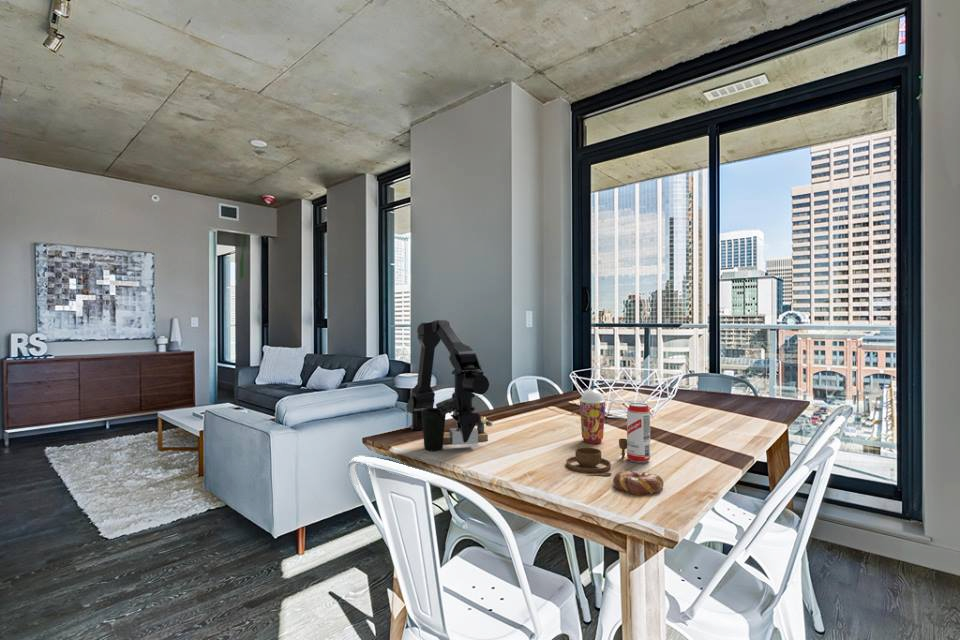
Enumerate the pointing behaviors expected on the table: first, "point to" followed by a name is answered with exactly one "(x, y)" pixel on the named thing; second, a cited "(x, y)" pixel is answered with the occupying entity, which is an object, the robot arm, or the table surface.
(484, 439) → the plane body
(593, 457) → the place setting
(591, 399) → the smoothie
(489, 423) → the lever
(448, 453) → the table surface
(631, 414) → the beer can
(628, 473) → the pretzel
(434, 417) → the cup
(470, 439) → the grey block
